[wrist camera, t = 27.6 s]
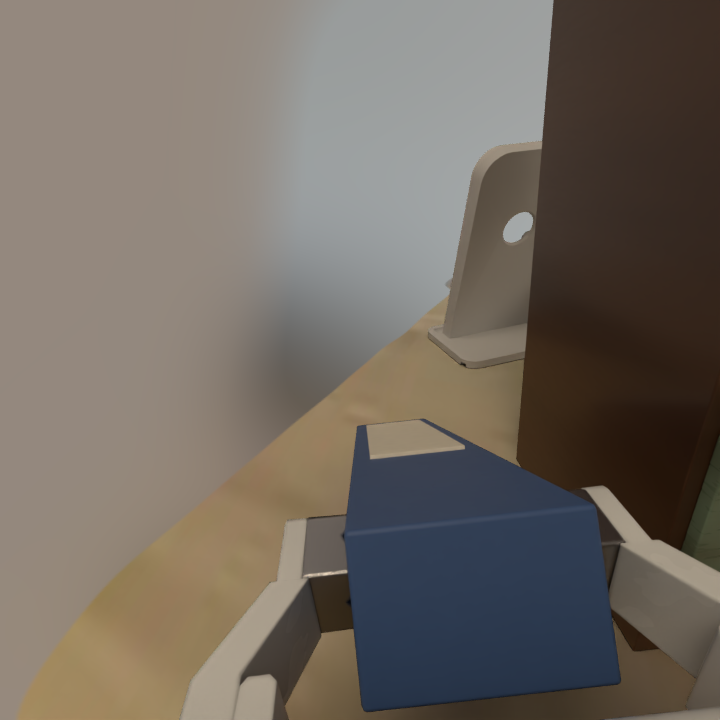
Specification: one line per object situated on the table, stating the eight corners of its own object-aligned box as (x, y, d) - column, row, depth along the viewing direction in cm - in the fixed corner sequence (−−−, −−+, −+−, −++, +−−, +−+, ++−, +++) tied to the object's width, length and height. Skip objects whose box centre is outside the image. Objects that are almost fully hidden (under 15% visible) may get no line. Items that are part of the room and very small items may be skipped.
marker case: (430, 465, 26) (424, 416, 27) (624, 687, 7) (597, 496, 7) (362, 472, 26) (356, 423, 27) (362, 715, 7) (342, 523, 7)
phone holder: (558, 307, 49) (577, 137, 42) (629, 335, 40) (670, 127, 33) (423, 333, 46) (418, 154, 38) (468, 371, 37) (473, 147, 29)
